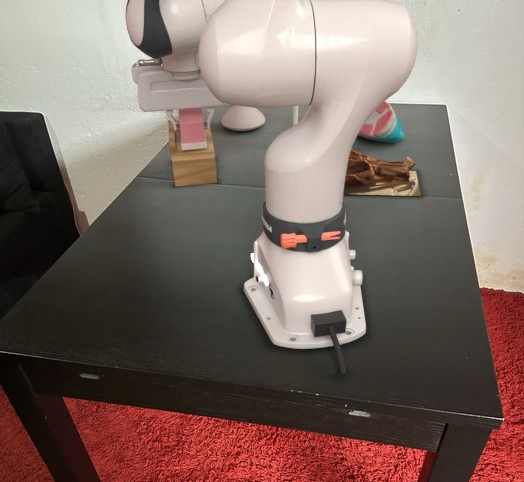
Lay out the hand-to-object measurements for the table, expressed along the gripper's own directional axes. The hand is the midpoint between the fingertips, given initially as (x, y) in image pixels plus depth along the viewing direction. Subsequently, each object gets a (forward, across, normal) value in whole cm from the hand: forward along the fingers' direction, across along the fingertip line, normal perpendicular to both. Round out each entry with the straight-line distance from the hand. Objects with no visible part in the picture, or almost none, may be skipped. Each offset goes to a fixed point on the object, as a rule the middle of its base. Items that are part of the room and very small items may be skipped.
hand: (192, 129), depth 111 cm
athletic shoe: (+10, +42, +15) cm, 45 cm away
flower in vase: (+10, +14, +26) cm, 31 cm away
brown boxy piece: (+10, 0, +1) cm, 10 cm away
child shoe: (+2, 0, +1) cm, 2 cm away
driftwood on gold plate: (+10, +32, -11) cm, 36 cm away
